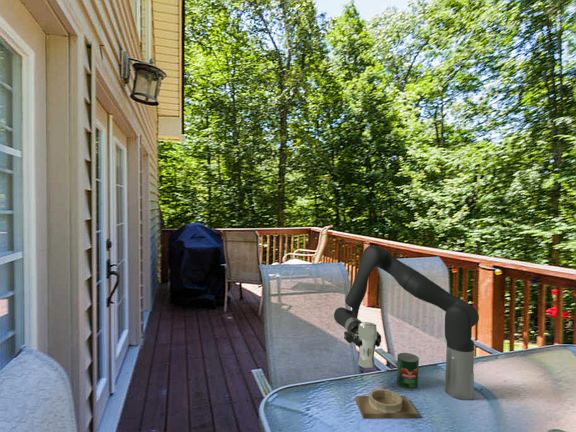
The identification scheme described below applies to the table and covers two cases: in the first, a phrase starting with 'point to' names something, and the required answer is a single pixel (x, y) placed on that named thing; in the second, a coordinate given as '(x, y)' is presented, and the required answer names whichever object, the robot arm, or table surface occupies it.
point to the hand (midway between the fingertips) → (369, 344)
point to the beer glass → (367, 344)
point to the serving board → (377, 414)
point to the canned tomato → (407, 371)
